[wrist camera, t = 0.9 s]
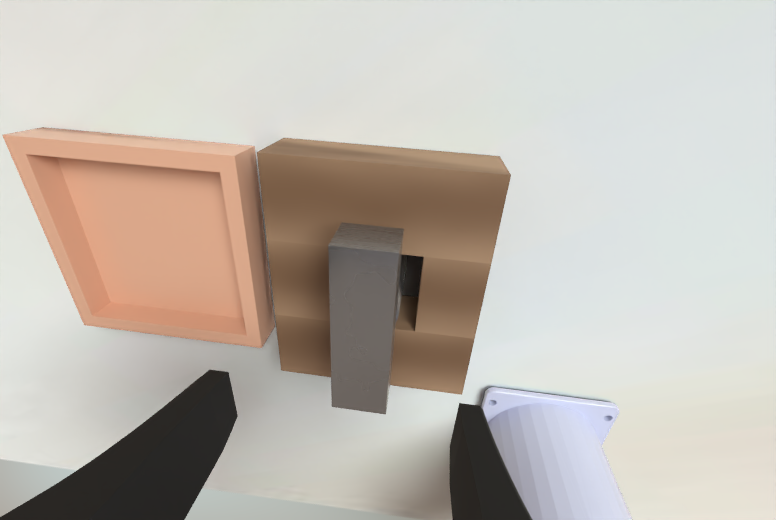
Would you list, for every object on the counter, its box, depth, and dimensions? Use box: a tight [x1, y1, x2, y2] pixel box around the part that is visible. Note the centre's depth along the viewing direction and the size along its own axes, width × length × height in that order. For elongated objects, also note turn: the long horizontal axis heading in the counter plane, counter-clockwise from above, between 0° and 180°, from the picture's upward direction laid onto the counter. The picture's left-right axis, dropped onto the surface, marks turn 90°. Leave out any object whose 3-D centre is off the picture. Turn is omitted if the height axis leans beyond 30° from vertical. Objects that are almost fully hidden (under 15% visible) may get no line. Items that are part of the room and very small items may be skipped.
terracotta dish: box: [3, 127, 275, 348], centre depth 20 cm, size 11×11×2 cm
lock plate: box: [257, 138, 511, 395], centre depth 19 cm, size 12×10×3 cm
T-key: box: [328, 222, 407, 414], centre depth 17 cm, size 8×3×6 cm, turn 177°
